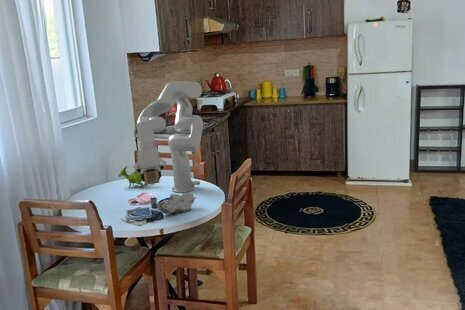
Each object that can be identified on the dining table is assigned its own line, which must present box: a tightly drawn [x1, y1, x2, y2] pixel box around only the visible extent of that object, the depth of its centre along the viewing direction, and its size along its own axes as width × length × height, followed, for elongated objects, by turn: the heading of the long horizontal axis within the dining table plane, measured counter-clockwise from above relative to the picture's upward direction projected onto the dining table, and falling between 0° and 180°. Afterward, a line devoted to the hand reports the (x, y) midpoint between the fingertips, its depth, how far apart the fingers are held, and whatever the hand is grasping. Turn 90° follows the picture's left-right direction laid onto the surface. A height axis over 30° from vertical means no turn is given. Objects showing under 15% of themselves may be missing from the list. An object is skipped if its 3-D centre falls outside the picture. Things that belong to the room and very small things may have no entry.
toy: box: [117, 166, 150, 189], centre depth 267 cm, size 8×21×15 cm, turn 82°
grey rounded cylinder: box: [149, 196, 158, 209], centre depth 229 cm, size 3×3×5 cm
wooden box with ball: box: [143, 167, 160, 186], centre depth 226 cm, size 8×7×6 cm
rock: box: [157, 192, 195, 215], centre depth 220 cm, size 19×11×10 cm, turn 131°
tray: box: [125, 206, 153, 223], centre depth 218 cm, size 12×12×2 cm
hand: (151, 179), depth 227 cm, fingers closed on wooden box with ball, 7 cm apart
